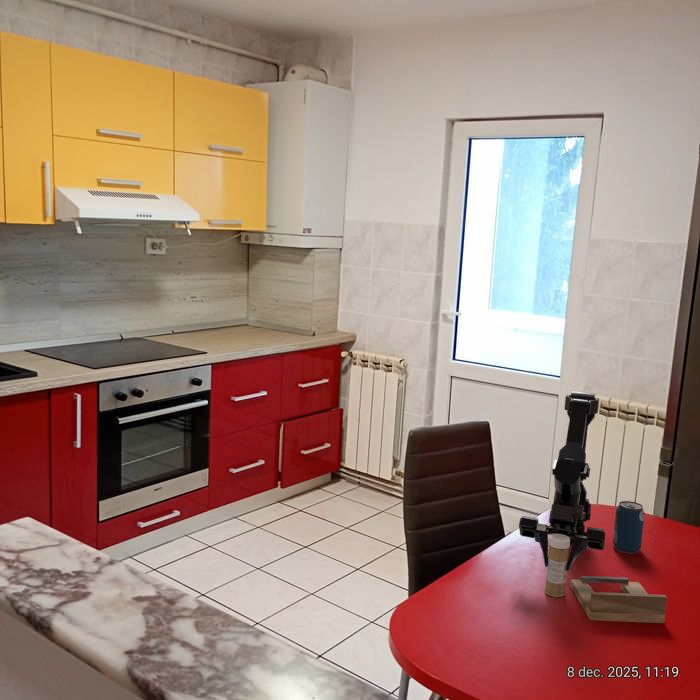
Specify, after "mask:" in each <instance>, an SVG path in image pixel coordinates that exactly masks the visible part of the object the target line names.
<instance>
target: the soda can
mask: <svg viewBox="0 0 700 700" xmlns="http://www.w3.org/2000/svg"><path fill="white" fill-rule="evenodd" d="M645 514H646V513H645V511H644V506H643V504H640V503H638V502H636V501H631V500H624V501H623V500H622V501H619V503H618V505H617V507H616V509H615V516H614V517H615V518H614V526H613V537H612V544H613V546H614V548H615V550H617V551H618V552H621V553H624V554H629V555H632V554H637V553H638V552H639V551H640V550H641V548H642V543H643V532H644V523H645Z"/></svg>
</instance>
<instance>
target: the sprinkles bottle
mask: <svg viewBox="0 0 700 700" xmlns="http://www.w3.org/2000/svg"><path fill="white" fill-rule="evenodd" d="M569 550H570V538H569V537H568V536H566V535H563V534H551V535H548V564H547V567H546V575H545V588H544V593H546V595H549V596H550V597H553V598H562V597H564V596H566V582H567V577H568V576H567V575H568V571H567V562H568V559H569V552H570V551H569Z"/></svg>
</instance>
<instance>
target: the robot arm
mask: <svg viewBox="0 0 700 700" xmlns="http://www.w3.org/2000/svg"><path fill="white" fill-rule="evenodd" d="M599 407H600V398H599V397H596V393H594V392H585V391H576V390H575V391H574V390H572V391H571V393H570V394H566V395H565V399H564V411H567V412H566V414H567V417H568V419H569V421H568V427H567V433H566V438H565V439H566V441H565V445H564V446H562V447H561V448H560V449H559V451H558V458H555V459H554V462H553V467H552V471H551V473H552V476H553V479H554V480H553V481H554V482H553V483H554V489H555V490H554V496H553V503H552V504H551V510H550V512H549V518H548V523H549V525H548V524H544V523H539V518H538V517H532V516H527V515H526V516H525V515H522V516H521V517H520V519H519V522H518V523H519V524H518V529H519V535H520V536H521V537H525V538H530V539H534V542H536V543H539V545H540V549H541V552H542V557H543V562H544V566H545V568H547V564H548V553H549V536H550V535H551V534H563V535H566V536H568V537H569V538H570V545H571V548H570V551H569V554H568V562H567V572H569V571H570V569H571V568H572V566H573V564H574V562H575V561H576V559H577V558H578V556H579V555H580V554H581V553H582V552H583V551H584V552H586V551H587V550H588V548H589V549H591V550H597V551H604V550H605V542H606V531H605V530H604V529H602V528H599V527H598V528H596V527H592V526H587V528H586V525H585V523H586V522H587V523H588V521H590V520H591V513H592V505H591V503H590V499H588V498H587V495H588V492H587V489H586V487H585V485H584V483H583V481H585V480H587V478H590V476H591V475H590V473H591V468H590V464H589V462H586V461H587V452H586V448H587V440H588V439H587V438H588V428H589V426H590V424H592V422H593V421H594V419H595V418H596V414H598V413H599ZM585 528H586V531H585Z"/></svg>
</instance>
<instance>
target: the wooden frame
mask: <svg viewBox="0 0 700 700" xmlns="http://www.w3.org/2000/svg"><path fill="white" fill-rule="evenodd" d="M589 583H594V584H595V583H597V584H599V583H600V584H620V588H619V589H620V590H621V592H603V591H602V592H601V591H600V592H598V591H597V592H596V591H594V590H593V588H592V587H591V586H590V585H591V584H589ZM569 587H570V589H571V590H572V592H573V594H574V595H575V597H576V599H577V601H578V602H579V604H580V606H581V608H582V609H583V611H584V613H585V614H586V615H587V617H588V619H589V620H590V621H601V622H625V623H626V622H628V623H629V622H630V623H632V622H633V623H653V624H664V623H665V617H666V610H667V602H668V597H667V595H666V594H648V593H649V592H648V591H646V589H645V588H644V586H642V584H641V583H640V582H639V581H630V580H629V578H628V577H617V576H594V575H593V576H592V575H591V576H590V575H580V579H570V584H569Z"/></svg>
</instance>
